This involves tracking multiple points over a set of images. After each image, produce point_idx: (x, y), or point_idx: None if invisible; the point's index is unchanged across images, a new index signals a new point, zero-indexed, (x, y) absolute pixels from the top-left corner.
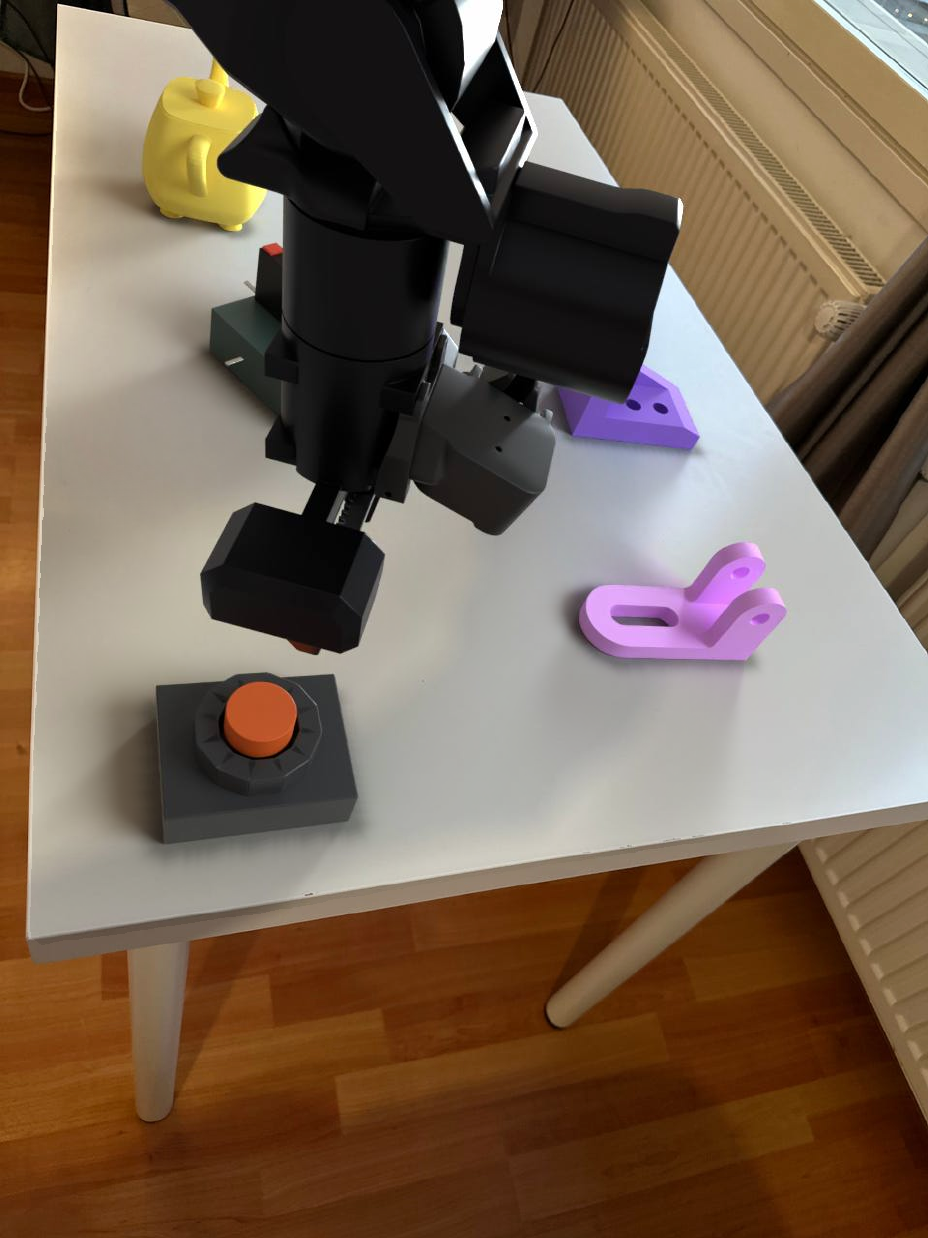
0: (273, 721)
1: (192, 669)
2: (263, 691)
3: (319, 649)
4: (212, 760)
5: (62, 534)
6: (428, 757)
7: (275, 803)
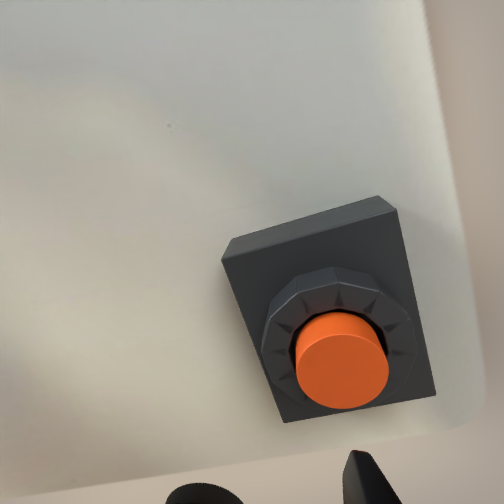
0: (356, 358)
1: (228, 364)
2: (311, 374)
3: (394, 493)
4: (393, 390)
5: (126, 473)
6: (279, 105)
7: (412, 301)
